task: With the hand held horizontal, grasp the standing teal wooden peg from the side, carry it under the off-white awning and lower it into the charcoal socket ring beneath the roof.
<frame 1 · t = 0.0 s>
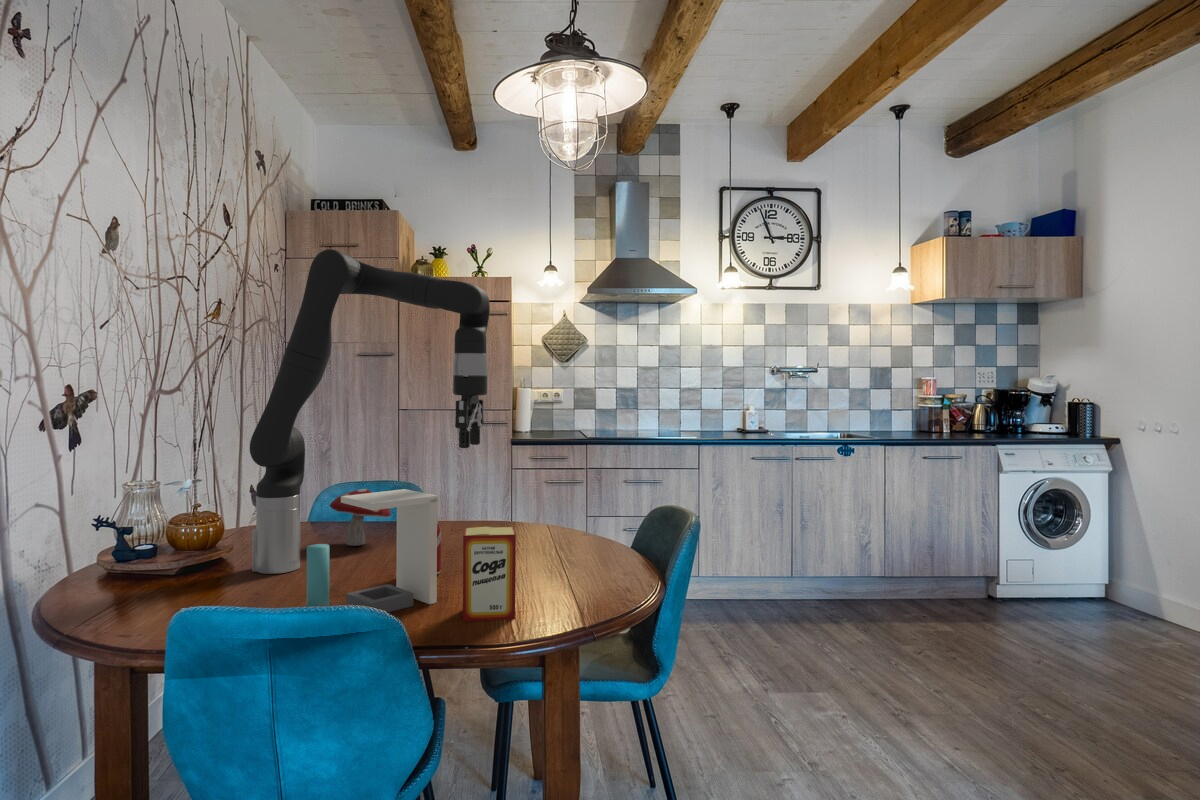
hand: (469, 446, 156), 29 cm above the table, tool pointing down, fingers open, 8 cm apart
decorative mushroom: (360, 545, 186), on the table
awning socket: (380, 606, 134), on the table
peg: (318, 608, 132), on the table
baking soda box: (488, 615, 130), on the table
soda can: (425, 575, 157), on the table
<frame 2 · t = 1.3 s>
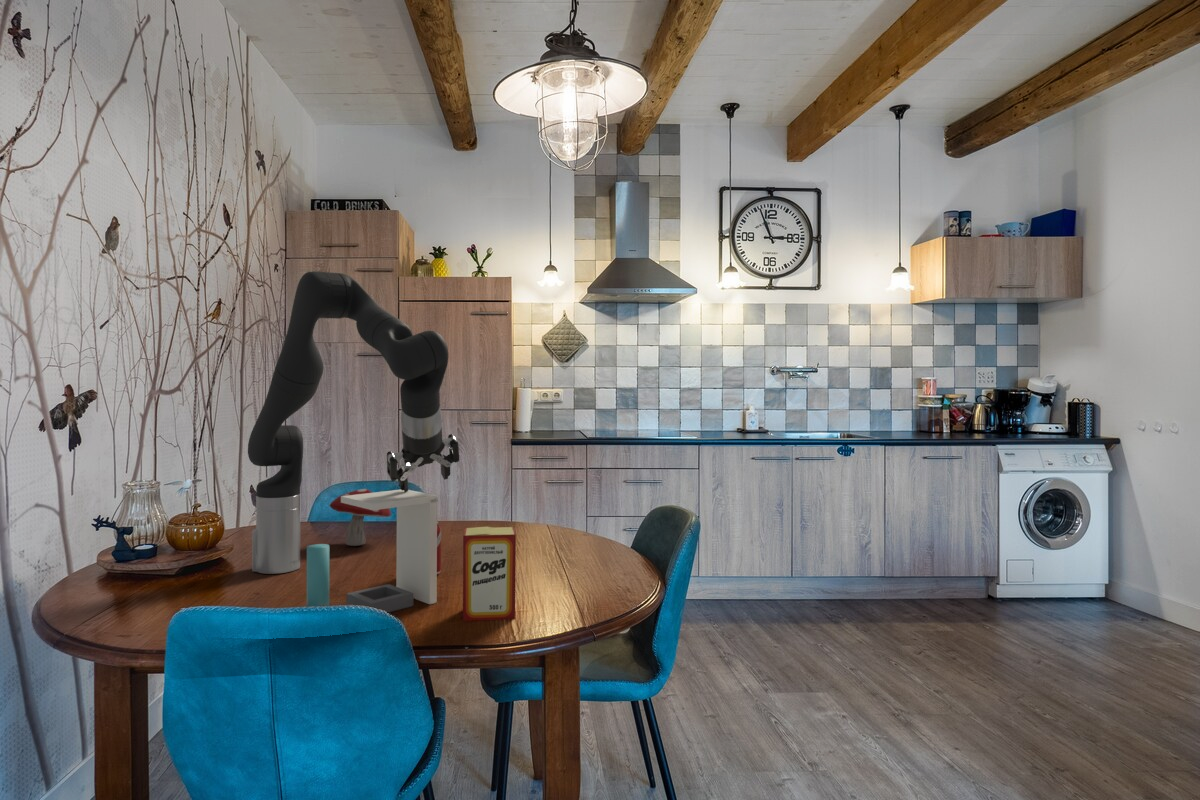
hand: (424, 482, 143), 23 cm above the table, tool tilted 40°, fingers open, 8 cm apart
nothing on the table moved.
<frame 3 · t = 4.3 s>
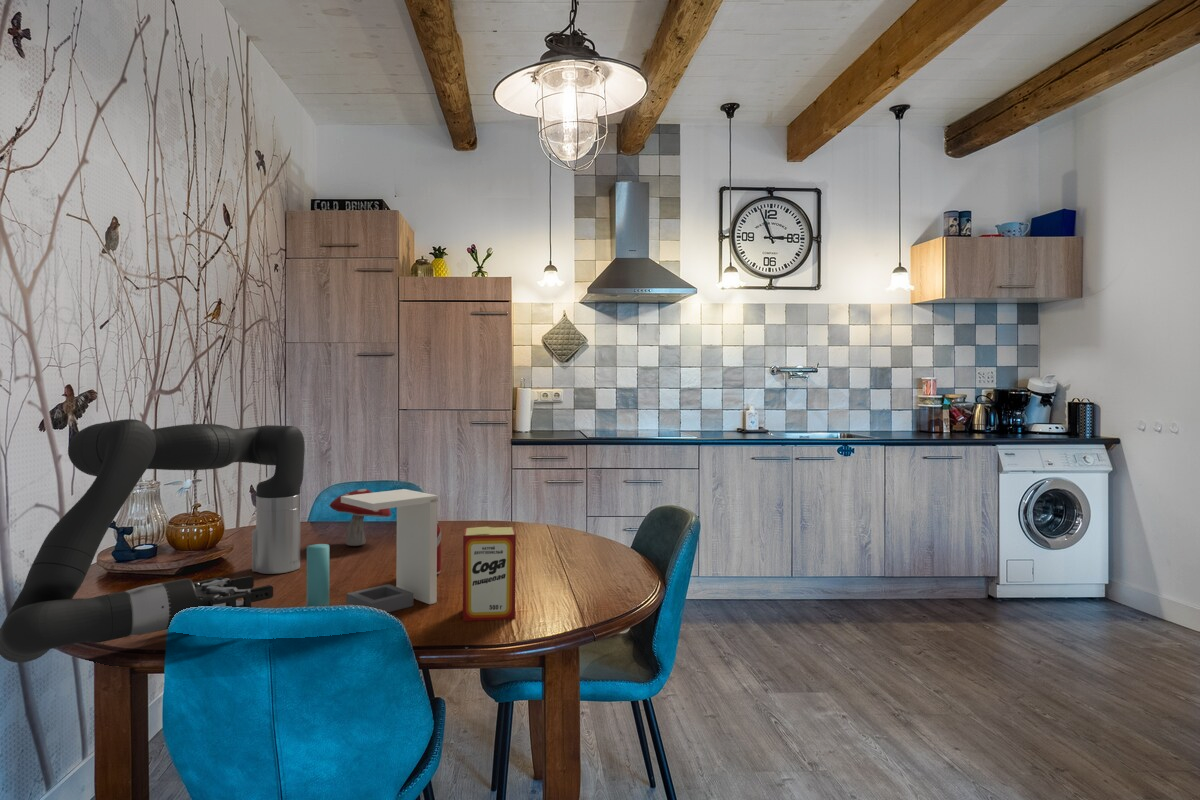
hand: (262, 586, 125), 6 cm above the table, tool horizontal, fingers open, 8 cm apart
nothing on the table moved.
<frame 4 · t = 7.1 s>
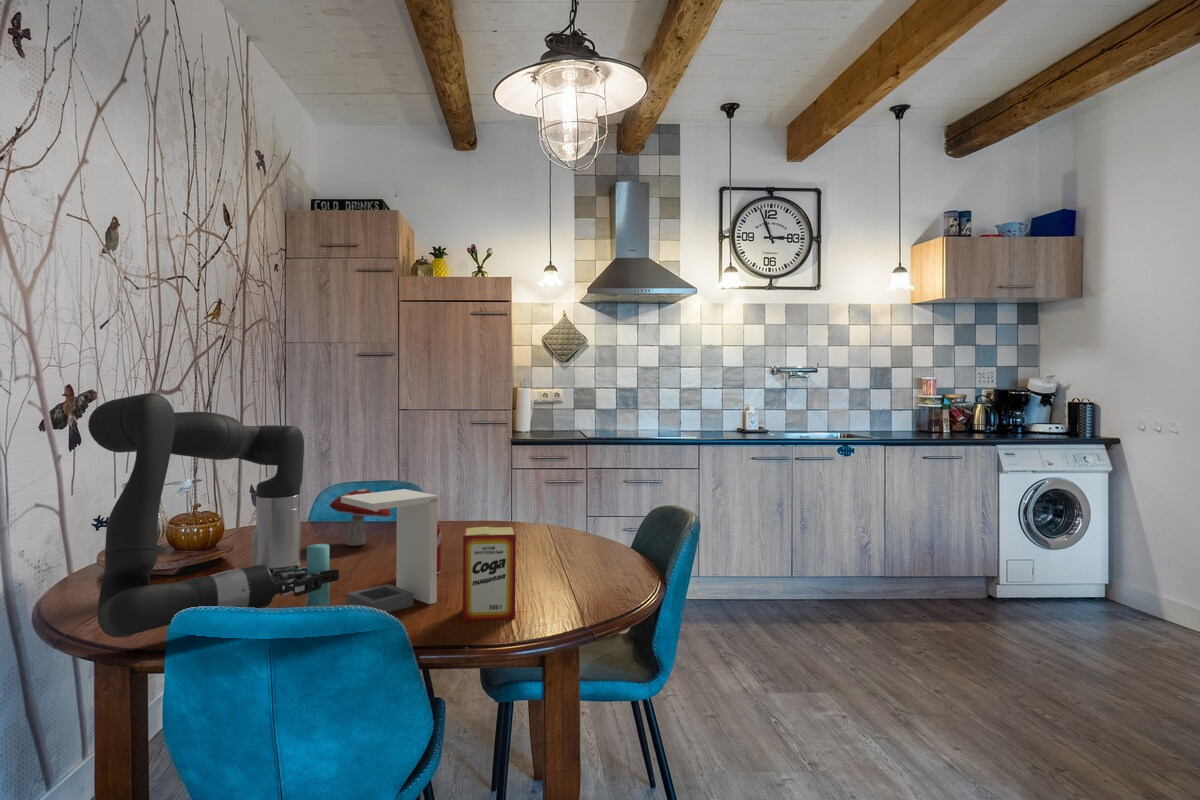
hand: (331, 572, 134), 7 cm above the table, tool horizontal, fingers closed on peg, 4 cm apart
peg: (318, 608, 132), on the table, touching gripper
everything else where it was.
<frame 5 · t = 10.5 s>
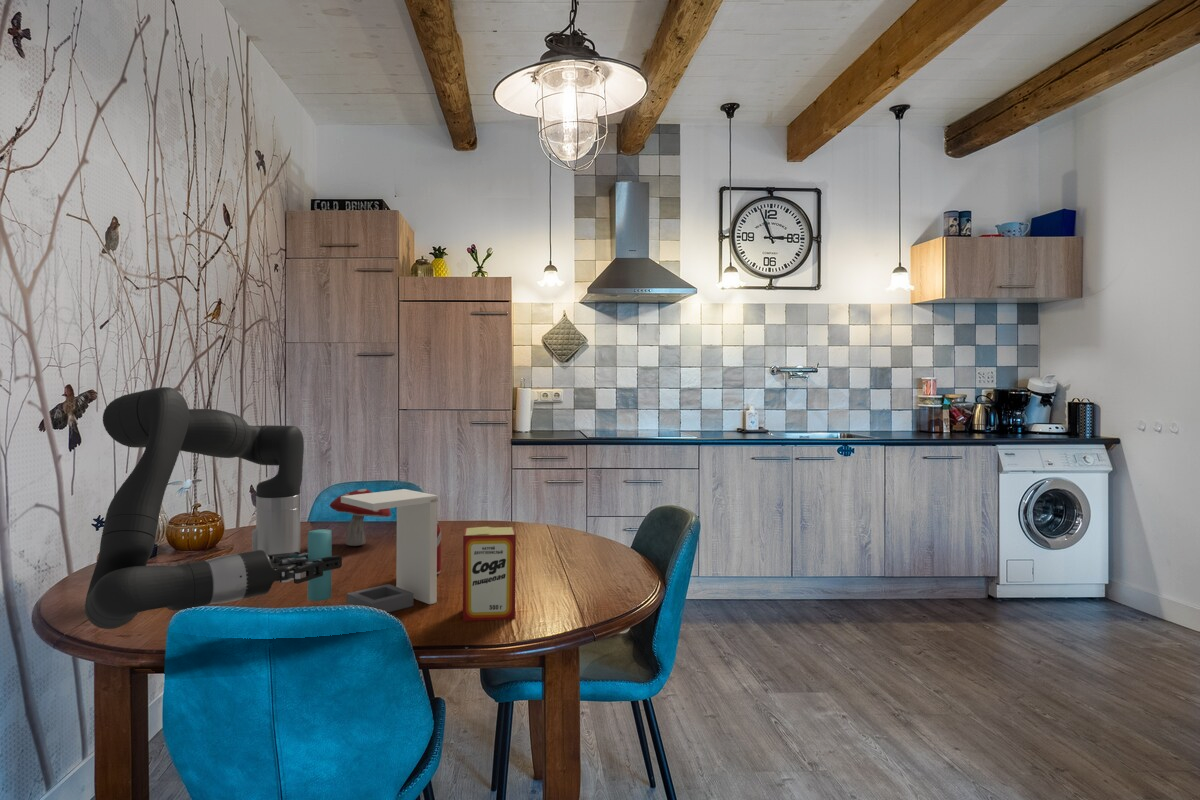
hand: (334, 559, 127), 11 cm above the table, tool horizontal, fingers closed on peg, 4 cm apart
peg: (319, 597, 125), point 4 cm above the table, touching gripper
everything else where it was.
when the fingers open (8 cm above the table, at t = 13.7 s): peg drops 1 cm, resting in awning socket.
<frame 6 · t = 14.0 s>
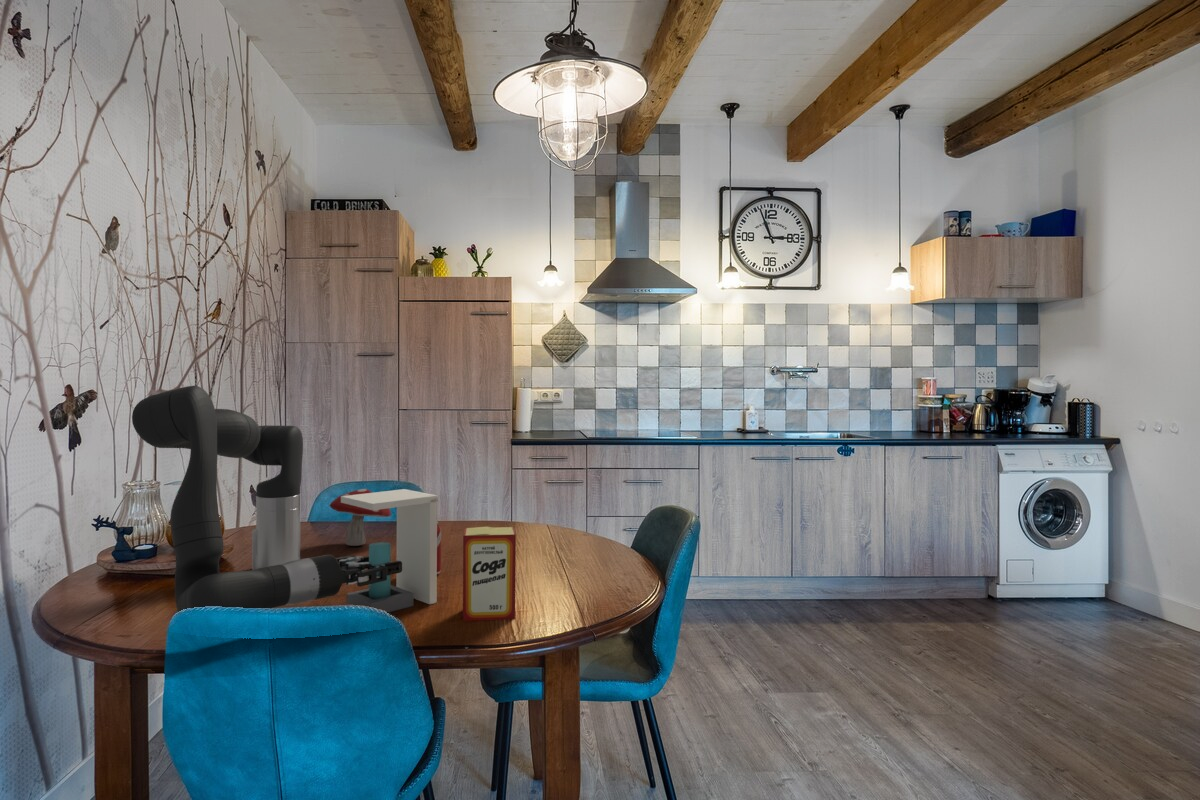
hand: (390, 562, 136), 8 cm above the table, tool horizontal, fingers open, 6 cm apart
peg: (379, 606, 134), resting in awning socket
everything else where it was.
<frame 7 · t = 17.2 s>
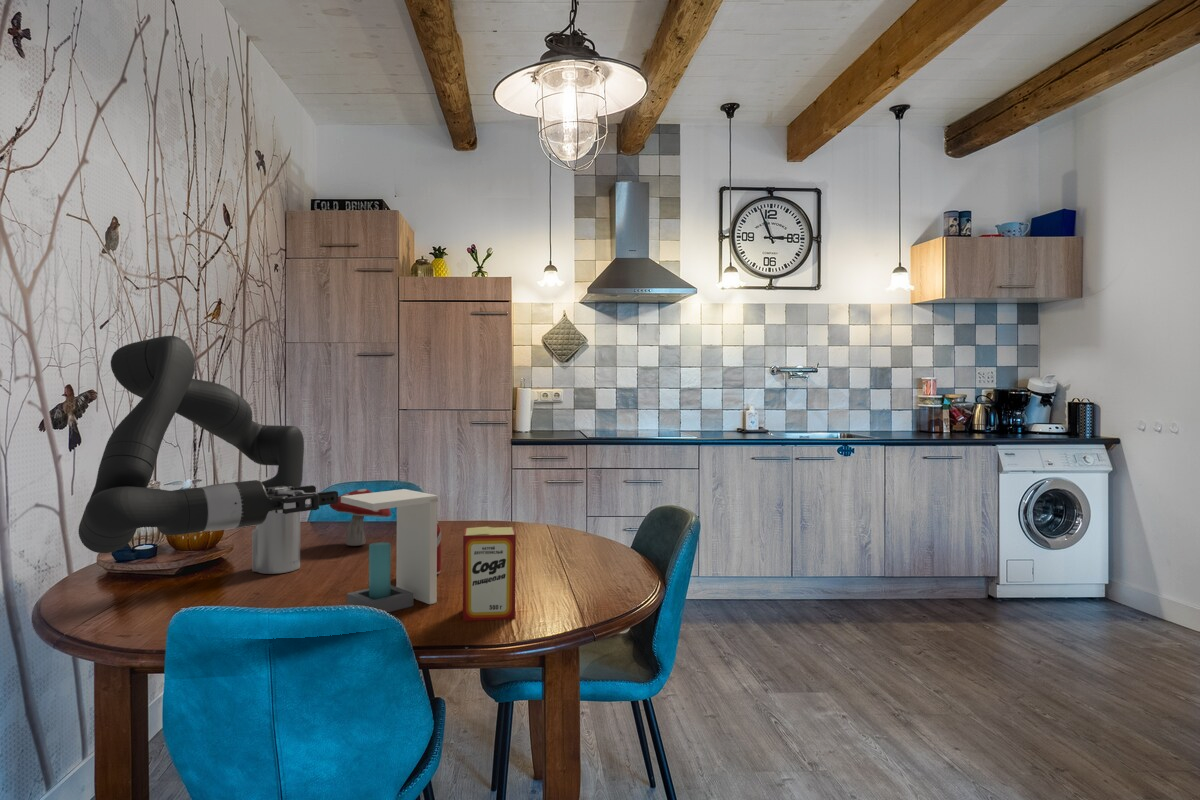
hand: (325, 493, 126), 23 cm above the table, tool horizontal, fingers open, 8 cm apart
nothing on the table moved.
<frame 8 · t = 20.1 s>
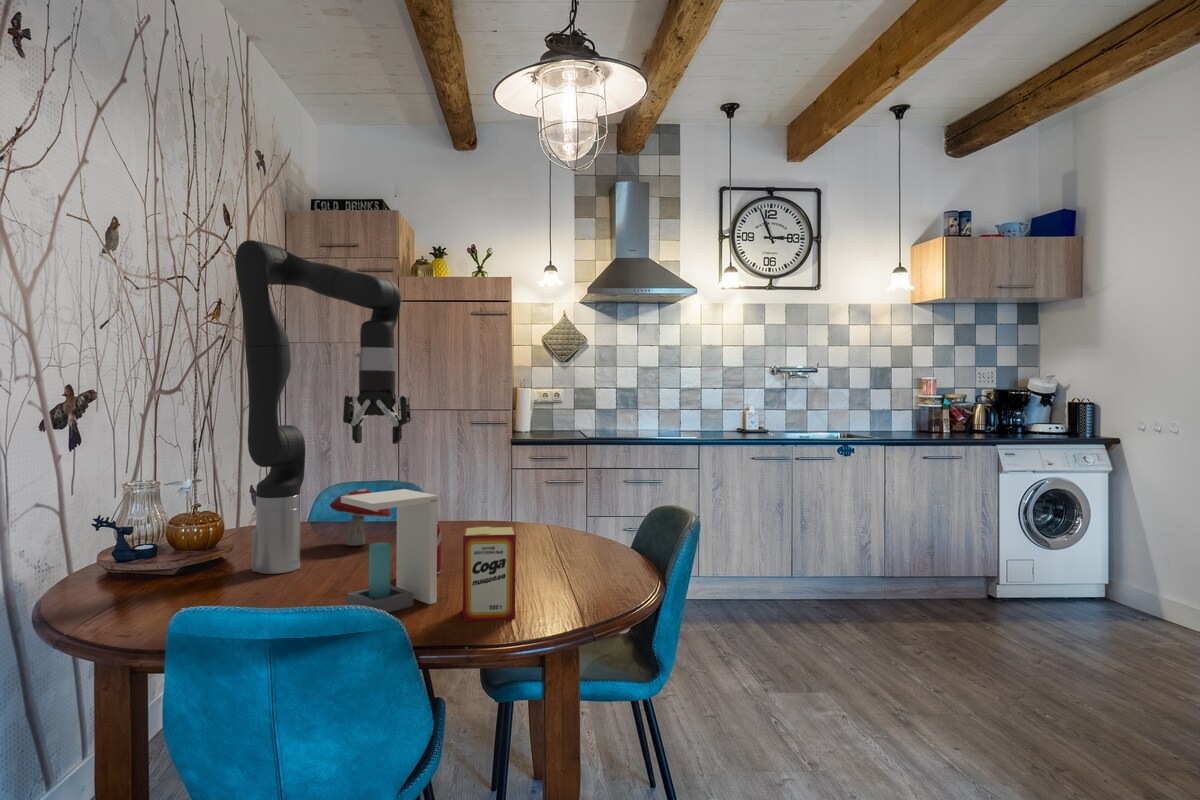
hand: (376, 443, 152), 30 cm above the table, tool pointing down, fingers open, 8 cm apart
nothing on the table moved.
at the end: peg 0.1 cm off-centre on the awning socket, point 0.0 cm above the awning socket's base; peg tilted 0°; the gripper is holding nothing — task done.
